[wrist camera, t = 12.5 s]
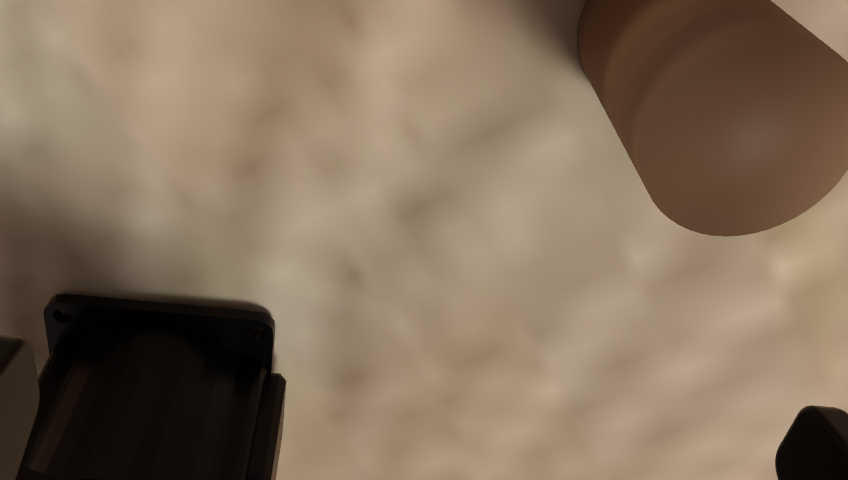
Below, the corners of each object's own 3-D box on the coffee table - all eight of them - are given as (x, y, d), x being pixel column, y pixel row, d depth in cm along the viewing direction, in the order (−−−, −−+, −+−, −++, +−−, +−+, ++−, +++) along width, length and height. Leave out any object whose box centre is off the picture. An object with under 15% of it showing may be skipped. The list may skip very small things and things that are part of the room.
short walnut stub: (559, 96, 20) (615, 224, 15) (602, -67, 18) (683, 21, 13) (708, 115, 21) (809, 246, 16) (768, -42, 18) (908, 53, 14)
